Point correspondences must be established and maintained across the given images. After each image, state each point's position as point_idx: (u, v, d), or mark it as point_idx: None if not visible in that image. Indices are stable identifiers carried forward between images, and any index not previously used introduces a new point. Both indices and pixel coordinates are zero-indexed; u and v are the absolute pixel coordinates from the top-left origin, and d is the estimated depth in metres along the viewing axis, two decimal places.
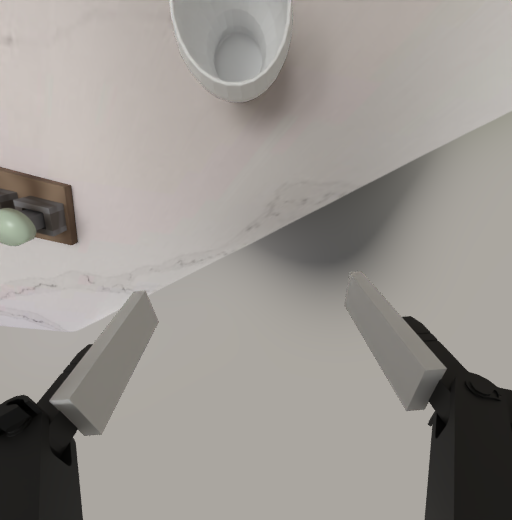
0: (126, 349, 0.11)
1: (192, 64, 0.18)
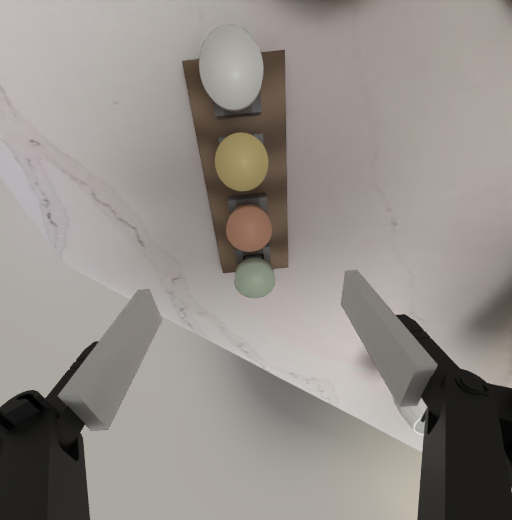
0: (131, 346, 0.11)
1: (421, 414, 0.34)
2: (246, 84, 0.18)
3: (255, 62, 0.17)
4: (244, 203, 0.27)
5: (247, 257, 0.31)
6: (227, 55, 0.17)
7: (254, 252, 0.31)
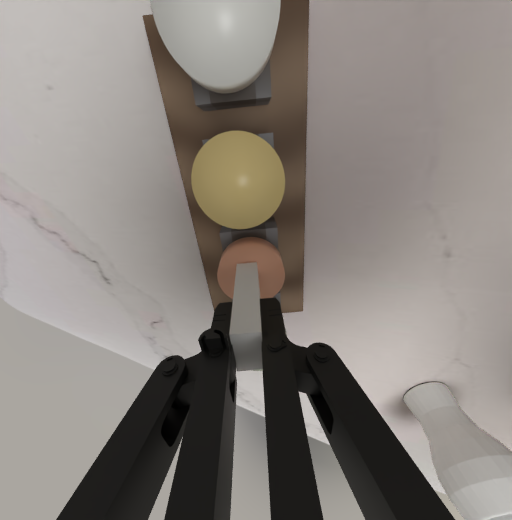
0: None
1: (486, 514, 0.25)
2: (246, 35, 0.09)
3: None
4: (244, 236, 0.18)
5: None
6: None
7: None
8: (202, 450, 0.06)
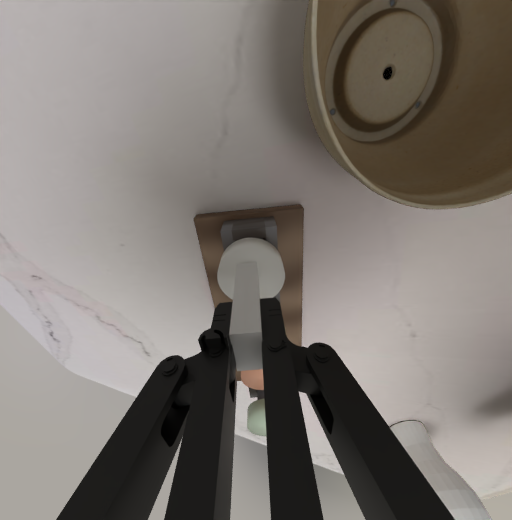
0: None
1: None
2: (266, 287, 0.17)
3: (276, 272, 0.16)
4: None
5: None
6: None
7: None
8: (202, 450, 0.06)
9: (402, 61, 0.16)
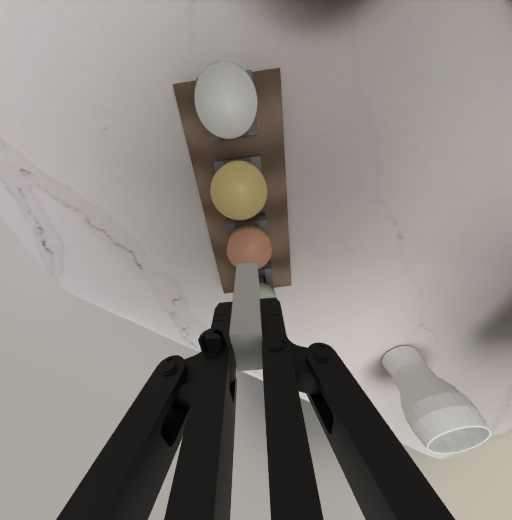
0: None
1: (435, 434, 0.33)
2: (241, 115, 0.18)
3: (249, 94, 0.17)
4: None
5: None
6: (221, 89, 0.17)
7: None
8: (202, 450, 0.06)
9: None
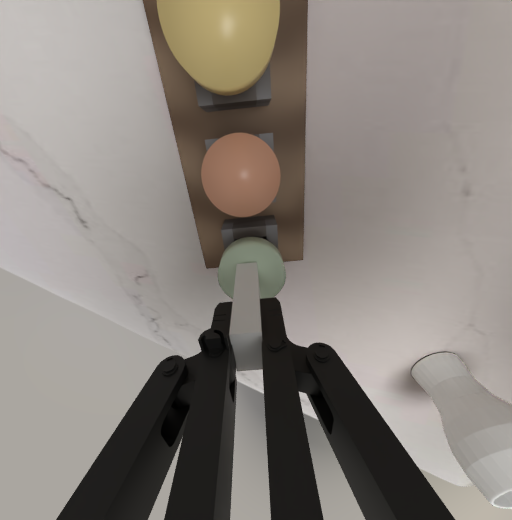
0: None
1: (509, 485, 0.22)
2: None
3: None
4: None
5: None
6: None
7: (252, 234, 0.19)
8: (202, 450, 0.06)
9: None
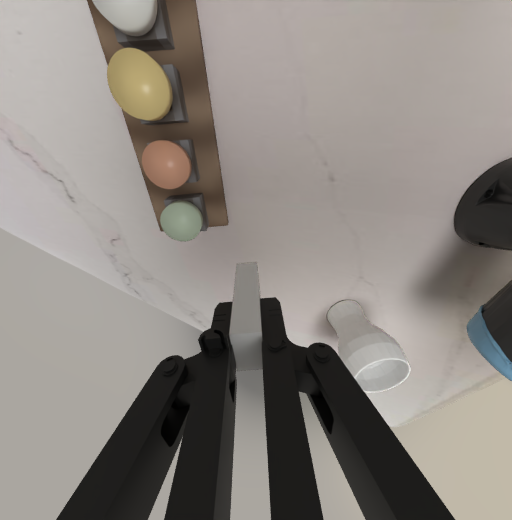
0: None
1: (359, 368, 0.34)
2: (135, 1, 0.18)
3: None
4: None
5: None
6: None
7: None
8: (202, 450, 0.06)
9: None
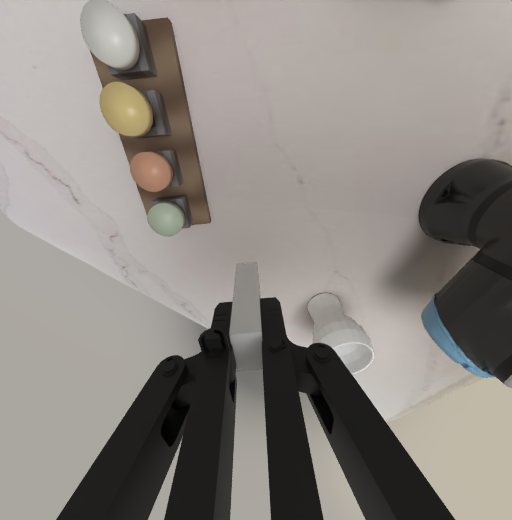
0: None
1: None
2: (120, 45, 0.23)
3: (123, 28, 0.23)
4: None
5: None
6: (101, 22, 0.22)
7: None
8: (202, 450, 0.06)
9: None
